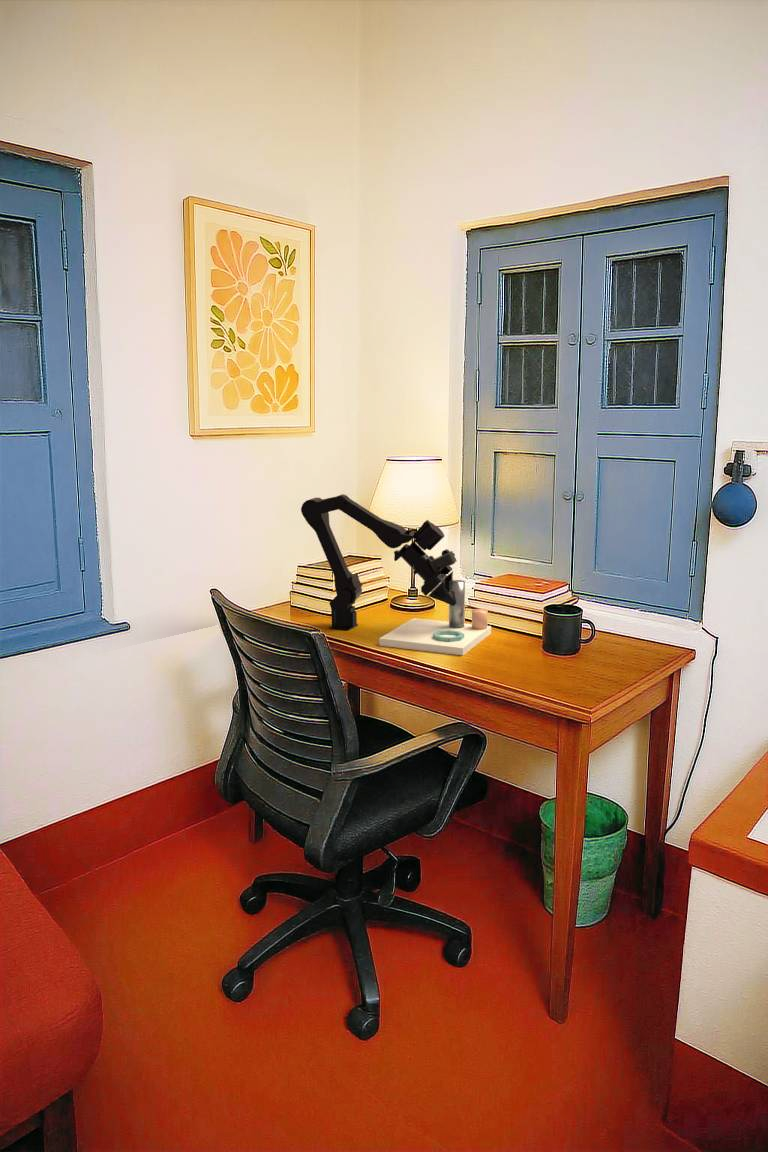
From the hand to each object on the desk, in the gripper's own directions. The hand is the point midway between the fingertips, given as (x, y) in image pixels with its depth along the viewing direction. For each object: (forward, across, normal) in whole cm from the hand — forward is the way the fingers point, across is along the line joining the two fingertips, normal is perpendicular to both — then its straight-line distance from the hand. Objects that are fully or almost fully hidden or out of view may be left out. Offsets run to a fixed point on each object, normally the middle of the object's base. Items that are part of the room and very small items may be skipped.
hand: (457, 600), depth 248 cm
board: (+3, -7, +10) cm, 13 cm away
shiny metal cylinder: (+5, 0, +6) cm, 7 cm away
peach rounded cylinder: (+10, 0, +1) cm, 10 cm away
